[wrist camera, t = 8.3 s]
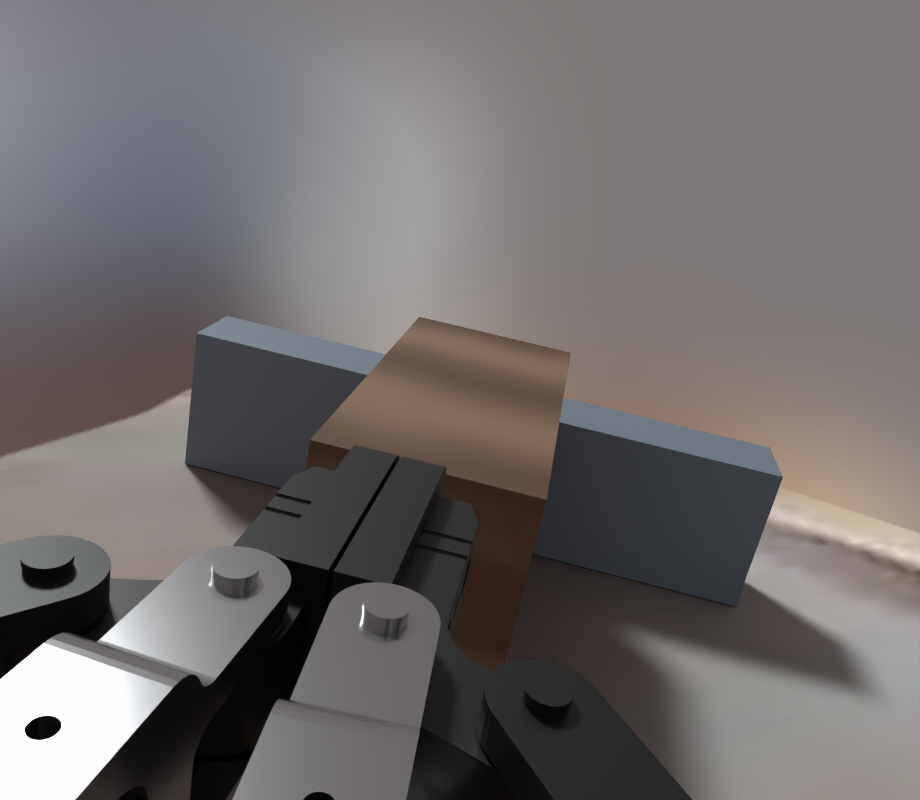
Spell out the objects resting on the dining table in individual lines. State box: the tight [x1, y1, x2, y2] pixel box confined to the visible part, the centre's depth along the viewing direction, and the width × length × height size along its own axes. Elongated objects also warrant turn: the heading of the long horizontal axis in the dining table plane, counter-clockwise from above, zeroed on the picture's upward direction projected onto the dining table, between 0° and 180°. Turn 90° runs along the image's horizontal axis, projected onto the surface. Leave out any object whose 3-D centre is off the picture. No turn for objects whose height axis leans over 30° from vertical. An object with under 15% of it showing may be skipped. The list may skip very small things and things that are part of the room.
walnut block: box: [306, 317, 570, 672], centre depth 29 cm, size 13×6×9 cm, turn 171°
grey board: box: [185, 316, 783, 606], centre depth 37 cm, size 3×24×6 cm, turn 81°
